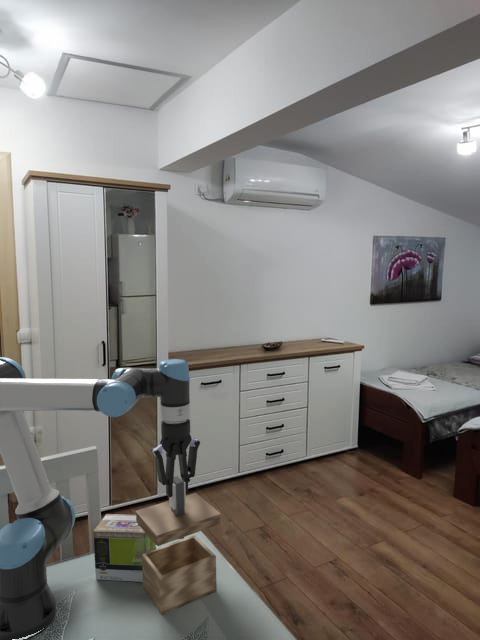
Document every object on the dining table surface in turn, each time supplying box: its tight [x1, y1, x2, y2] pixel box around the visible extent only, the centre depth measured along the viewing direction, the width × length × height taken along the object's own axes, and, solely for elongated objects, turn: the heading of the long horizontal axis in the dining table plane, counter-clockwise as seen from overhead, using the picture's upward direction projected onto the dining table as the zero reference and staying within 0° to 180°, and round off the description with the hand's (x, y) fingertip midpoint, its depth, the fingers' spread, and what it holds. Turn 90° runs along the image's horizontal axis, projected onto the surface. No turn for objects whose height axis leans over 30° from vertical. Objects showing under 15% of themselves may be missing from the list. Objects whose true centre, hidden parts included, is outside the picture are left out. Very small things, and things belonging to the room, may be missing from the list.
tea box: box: [92, 513, 157, 583], centre depth 135 cm, size 15×10×15 cm
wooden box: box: [142, 534, 218, 616], centre depth 127 cm, size 16×12×10 cm
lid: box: [134, 475, 222, 547], centre depth 125 cm, size 18×14×12 cm
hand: (177, 505), depth 125 cm, fingers closed on lid, 2 cm apart
